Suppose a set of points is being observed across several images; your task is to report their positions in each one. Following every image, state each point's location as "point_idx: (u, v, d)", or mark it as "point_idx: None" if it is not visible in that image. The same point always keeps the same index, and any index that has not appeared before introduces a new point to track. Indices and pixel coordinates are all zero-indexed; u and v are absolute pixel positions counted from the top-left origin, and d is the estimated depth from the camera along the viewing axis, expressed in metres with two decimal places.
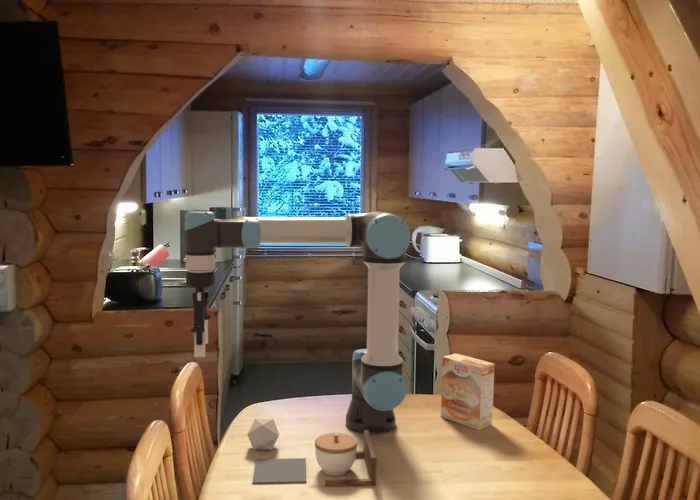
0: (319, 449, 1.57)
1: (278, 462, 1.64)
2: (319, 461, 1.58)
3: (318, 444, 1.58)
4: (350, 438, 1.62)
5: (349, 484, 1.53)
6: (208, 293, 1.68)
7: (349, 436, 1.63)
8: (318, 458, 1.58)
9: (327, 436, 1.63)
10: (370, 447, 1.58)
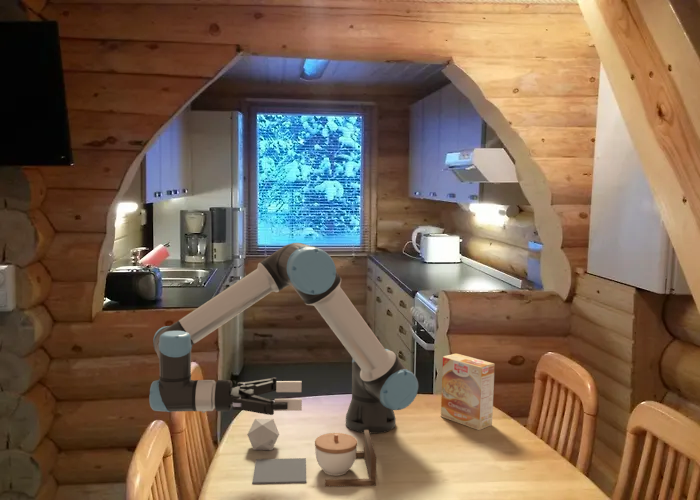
0: (319, 449, 1.57)
1: (278, 462, 1.64)
2: (319, 461, 1.58)
3: (318, 444, 1.58)
4: (350, 438, 1.62)
5: (349, 484, 1.53)
6: (241, 386, 1.58)
7: (349, 436, 1.63)
8: (318, 458, 1.58)
9: (327, 436, 1.63)
10: (370, 447, 1.58)
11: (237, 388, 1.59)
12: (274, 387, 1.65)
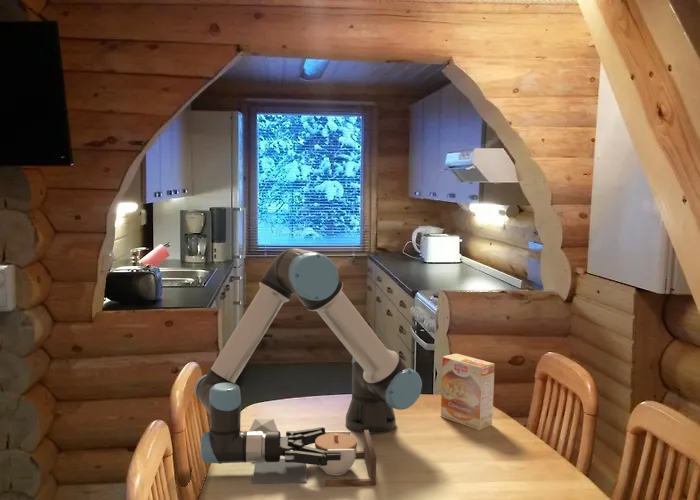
0: None
1: (278, 462, 1.64)
2: None
3: (318, 444, 1.58)
4: (350, 438, 1.62)
5: (349, 484, 1.53)
6: (289, 437, 1.60)
7: (349, 436, 1.63)
8: None
9: (327, 436, 1.63)
10: (370, 447, 1.58)
11: (284, 438, 1.62)
12: None
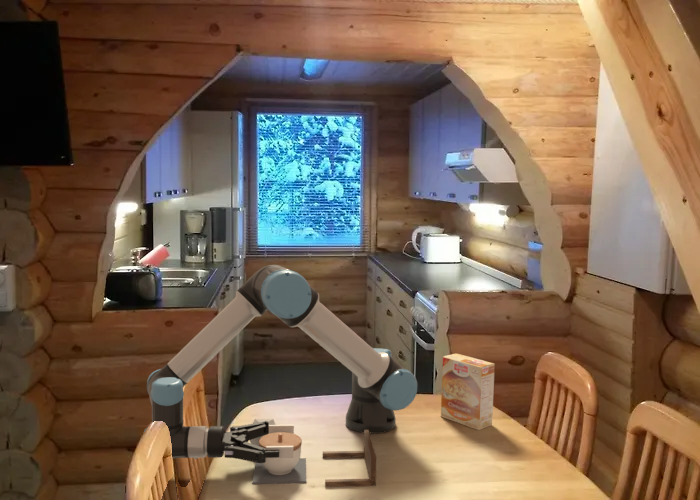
0: None
1: None
2: None
3: (261, 443, 1.57)
4: (295, 437, 1.61)
5: (349, 484, 1.53)
6: (233, 432, 1.59)
7: (294, 435, 1.62)
8: None
9: (272, 435, 1.62)
10: (370, 447, 1.58)
11: (229, 433, 1.60)
12: (266, 431, 1.66)
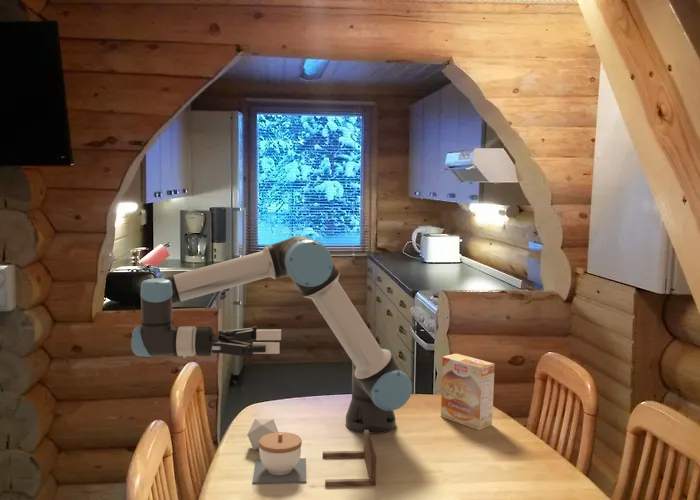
0: (262, 448, 1.56)
1: None
2: (262, 460, 1.57)
3: (261, 443, 1.57)
4: (295, 437, 1.61)
5: (349, 484, 1.53)
6: (221, 332, 1.62)
7: (294, 435, 1.62)
8: (261, 457, 1.57)
9: (272, 435, 1.62)
10: (370, 447, 1.58)
11: (217, 335, 1.63)
12: (254, 335, 1.69)
